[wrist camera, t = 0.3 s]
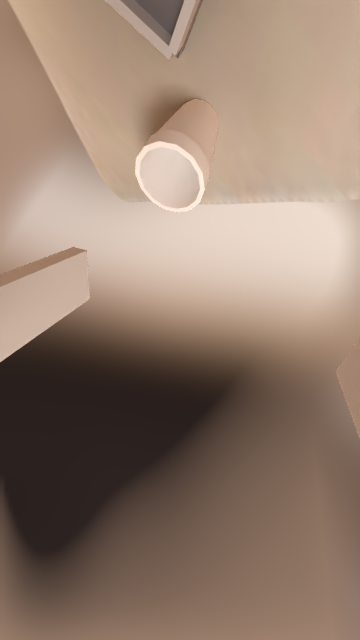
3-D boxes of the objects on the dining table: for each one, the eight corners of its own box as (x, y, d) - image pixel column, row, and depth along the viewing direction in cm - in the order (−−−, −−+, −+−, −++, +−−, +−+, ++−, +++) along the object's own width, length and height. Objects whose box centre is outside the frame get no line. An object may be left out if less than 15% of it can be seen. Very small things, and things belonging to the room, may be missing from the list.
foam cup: (156, 110, 36) (121, 164, 31) (206, 65, 30) (173, 123, 25) (191, 167, 42) (166, 220, 37) (239, 140, 36) (217, 198, 31)
